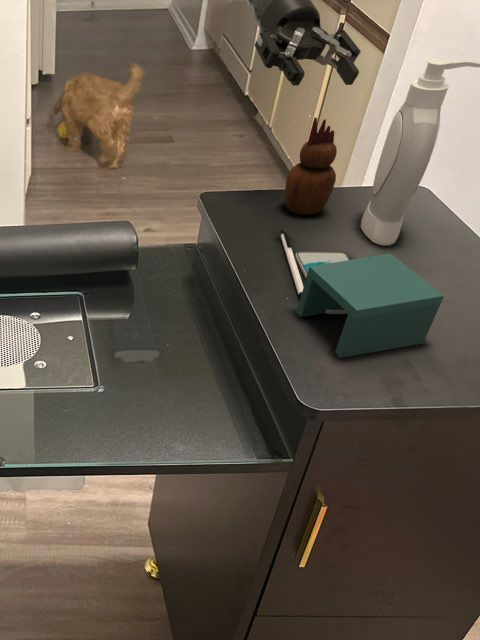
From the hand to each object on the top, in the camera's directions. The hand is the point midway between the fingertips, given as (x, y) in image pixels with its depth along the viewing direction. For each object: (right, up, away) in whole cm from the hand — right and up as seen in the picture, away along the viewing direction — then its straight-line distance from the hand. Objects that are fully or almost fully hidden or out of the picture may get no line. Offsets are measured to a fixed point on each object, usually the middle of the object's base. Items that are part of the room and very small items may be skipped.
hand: (326, 80), depth 104 cm
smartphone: (-1, -30, -4) cm, 30 cm away
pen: (-5, -27, -1) cm, 28 cm away
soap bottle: (+12, -21, +5) cm, 24 cm away
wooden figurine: (+2, -16, +12) cm, 20 cm away
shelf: (-2, -36, -12) cm, 39 cm away
